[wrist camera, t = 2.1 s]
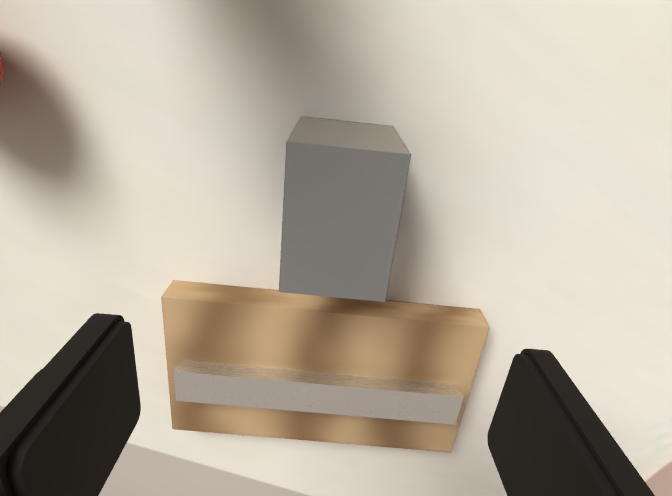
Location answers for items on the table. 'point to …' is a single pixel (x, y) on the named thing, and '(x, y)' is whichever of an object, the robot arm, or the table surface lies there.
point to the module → (341, 208)
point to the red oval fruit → (1, 69)
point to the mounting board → (319, 356)
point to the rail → (317, 392)
